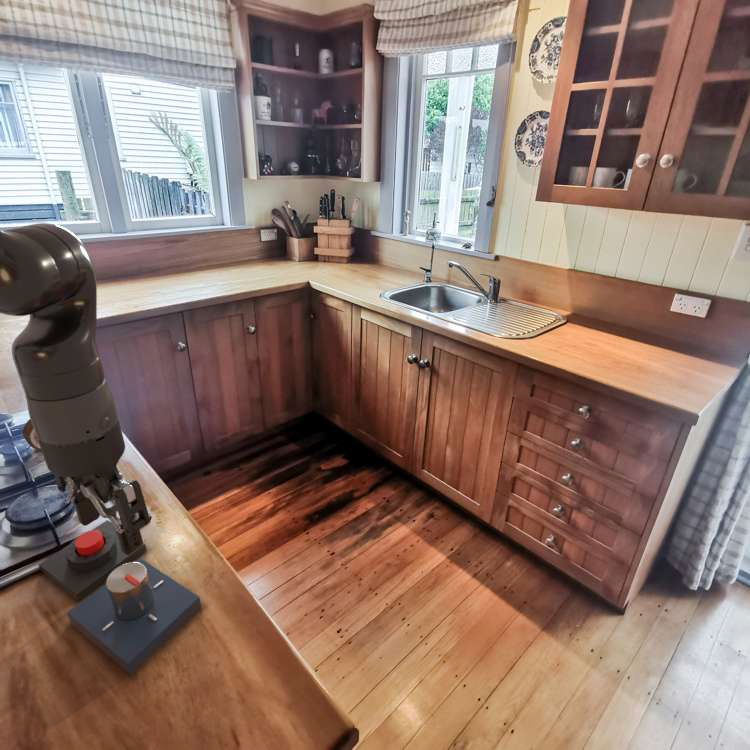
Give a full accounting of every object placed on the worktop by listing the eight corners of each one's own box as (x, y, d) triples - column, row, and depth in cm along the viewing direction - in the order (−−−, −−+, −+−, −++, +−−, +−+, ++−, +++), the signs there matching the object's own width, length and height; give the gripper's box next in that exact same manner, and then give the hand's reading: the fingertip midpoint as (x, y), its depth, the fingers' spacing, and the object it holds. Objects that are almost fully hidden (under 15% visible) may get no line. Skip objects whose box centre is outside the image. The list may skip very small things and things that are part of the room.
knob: (107, 609, 63) (97, 579, 60) (139, 584, 67) (131, 554, 64) (129, 626, 61) (120, 596, 58) (161, 599, 65) (153, 570, 62)
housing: (42, 574, 71) (34, 555, 69) (110, 529, 80) (105, 511, 78) (80, 605, 67) (73, 586, 65) (147, 553, 75) (143, 535, 74)
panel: (72, 627, 64) (66, 612, 62) (144, 571, 72) (140, 556, 71) (132, 678, 58) (127, 662, 57) (202, 611, 67) (199, 596, 65)
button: (72, 550, 71) (69, 541, 70) (95, 535, 74) (92, 526, 73) (86, 560, 69) (83, 551, 69) (109, 544, 72) (106, 536, 71)
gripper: (4, 418, 50) (47, 530, 57) (81, 462, 43) (118, 583, 51) (75, 390, 55) (106, 495, 63) (152, 426, 49) (176, 538, 56)
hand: (111, 534), depth 57 cm, fingers open, 8 cm apart
